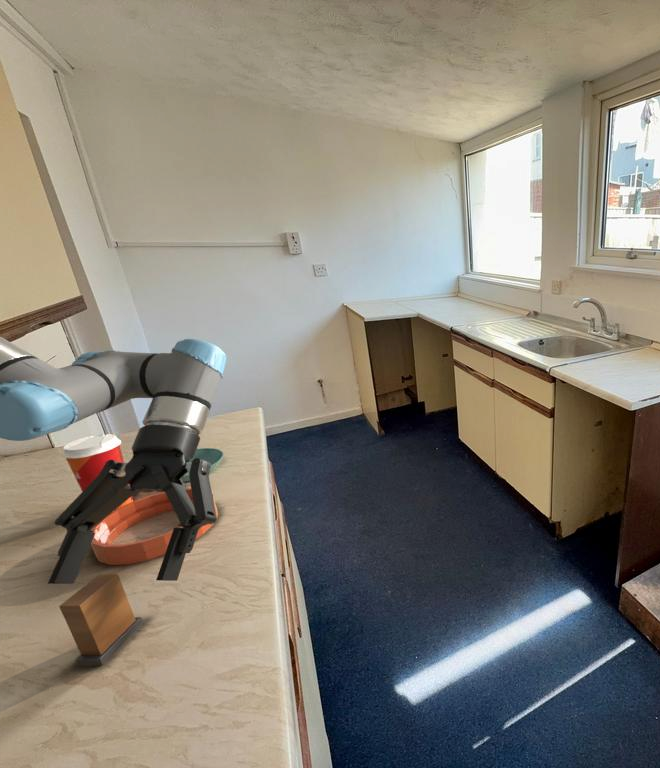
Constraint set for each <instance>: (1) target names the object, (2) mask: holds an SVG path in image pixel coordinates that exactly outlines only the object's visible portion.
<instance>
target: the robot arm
mask: <svg viewBox="0 0 660 768" xmlns="http://www.w3.org/2000/svg"><path fill="white" fill-rule="evenodd" d="M226 364H227V354H226V353H225V352H224V351H223V350H222V349H221V348H220V347H219V346H217V345H216V344H214V343H211V342H208V341H205V340H201V339H196V338H184V339H182V340H178V341H177V342H176V343H175V345H174V346H173V347H172V348H171V352H160V353H156V352H134V351H132V352H131V351H120V350H105V351H88V352H85V353H82V354H81V355H79V356H78V358H77V359H76V360H74V361H72V363H71V364H70V365H67V366H63V367H60V368H57V367H55V366H53V365H51V364H50V363H47V362H46V361H44V360H42V359H40V358H38V357H37V356H35V355H33V354H32V353H30V352H28V351H27V350H24V349H22V348H21V347H19V346H18V345H16V344H14V343H12V342H11V341H9V340H7V339H6V338H4V337H2V336H0V439H2V440H6V441H12V442H13V441H14V442H23V441H30V440H35V439H37V438H41V437H43V436H46V435H49V434H53V433H56V432H60V431H62V430H65V429H68V427H70V426H71V425H74V424H75V423H78V422H80V421H82V420H84V419H87V418H88V417H91V416H93V415H95V414H98V413H101V412H104V411H107V410H109V409H111V408H113V407H116V406H118V405H121V404H123V403H125V402H128V401H130V400H134V399H151V402H150V404H149V406H148V408H147V411H146V413H145V415H144V417H143V419H142V421H141V424H142V425H143V426H142V427H140V428H139V429H138V431H137V434H136V436H135V438H134V440H133V443H132V446H131V451H132V457H131V459H130V460H129V461H128V462H124V463H121V462H118V461H114V460H108V461H107V462H106V463H105V465H104V467H103V469H102V470H101V472H100V474H99V475H98V476H97V477H96V478H95V479H94V480H93V481H92V483H91V484H90V485H89V486H88V487H87V488H86V489H85V490H84V491H83V492H82V491H81V493H80V494H79V495H78V496H77V497H76V498H75V499H74V500H73V501H72V502H71V503H70V504H69V505H68V506H67V508H66V509H64V511H62V512H61V514H60V515H59V516H58V517H56V519H55V520H54V525H55V526H57V527H62V528H64V529H66V534H65V535H64V538H63V540H62V543H61V545H60V547H59V549H58V551H57V556H58V557H59V558H58V560H57V562H56V564H55V566H54V569H53V571H52V574H51V575H50V577H49V580H48V582H47V584H48V585H49V584H50V585H55V584H56V585H74V584H75V582H76V580H77V577H78V575H79V572H80V571H81V568H82V565H83V563H84V561H85V559H86V556H87V554H88V552H89V549H90V546H91V542H92V540H93V538H94V535H95V532H94V531H93V529H92V528H93V527H94V526H96V525H97V524H98V523H99V522H100V521H102V520H103V519H104V518H105V517H107V516H108V515H109V514H110V513H112V512H113V511H114V510H115V509H117V508H118V507H119V506H120V505H121V504H123V503H124V502H125V501H126V500H128V499H129V498H130V497H135V496H137V495H139V494H140V493H145V494H146V493H147V494H148V493H154V492H158V493H161V492H165V493H166V495H167V497H168V499H169V501H170V503H171V505H172V507H173V509H174V510H173V511H174V513H175V515H176V517H177V519H178V521H179V523H178V524H177V526H179V527H180V526H181V527H183V528H178V527H173V529H172V530H173V532H172V535H171V538H170V541H169V544H168V547H167V550H166V553H165V555H163V558H162V562H161V565H160V568H159V570H158V574H157V576H156V579H155V581H169V582H172V581H178V579H179V576H180V573H181V569H182V566H183V564H184V560H185V557H186V554H190V553H191V552H192V550H193V548H194V545H195V542H196V540H197V538H196V536H197V533H198V530H199V529H200V528H201V527H202V526H204V525H207V524H213V523H214V524H215V523H216V522H217V519H218V517H216V512H215V507H214V501H213V496H214V495H213V496H212V494H213V492H212V487H211V482H210V473H211V471H210V467H211V464H210V463H209V462H207V461H204V460H202V459H199V458H195V459H194V460H193V461H191V462H190V459H192V458H193V457H194V456H195V453H196V450H197V449H198V447H199V444H200V441H201V437H200V435H201V434H202V433H203V431H204V428H205V426H206V423H207V420H208V417H209V415H210V411H211V408H212V404H213V402H214V399H215V396H216V393H217V391H218V388H219V386H220V383H221V381H222V379H223V378H224V371H225V368H226ZM187 472H188V473H189V478H190V481H189V484H190V488H191V490H192V496H193V502H194V505H193V503H192V502H191V500H190V498H189V496H188V494H187V492H186V488H187V486H186V484H185V482H183V481H182V479H181V478H182V477H183V476H184V475H185V474H186V473H187ZM128 484H130V486H128ZM214 524H213V525H214Z"/></svg>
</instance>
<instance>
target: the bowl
mask: <svg viewBox="0 0 660 768" xmlns="http://www.w3.org/2000/svg"><path fill="white" fill-rule="evenodd" d="M186 492H187V494H188V496H189V498H190V500H191V502H192V503H193V505H194V502H193V496H192V490H191V487H186ZM212 496H213V501H214V507H215V512H216V517H217V518H218V516H219V514H218V513H219V512H218V508H217V503H216V499H215V496H214V494H213V493H212ZM170 511H174V509H173V507H172V505H171V503H170V501H169V499H168V497H167V495H166V493H165V492H158V493H154V494H150V495H148V496H144V497H142V498H139V499H136V500H133V502H131V503H129V504H127V505H125V506H123V507H121V508H119V509H117V510H115V511H113V512H112V513H110V514H109V515H108V516H107V517H105V518H104V519H103V520H102V521H100V522H99V523H98V524H97V525H96V526H94V527H93V528H92V529H93V531H94V532H95V535H94V538H93V540H92V542H91V545H90V546H91V548H92V550H93V553H94V555H95V557H96V559H97V560H98V562H99V563H103V564H106V565H110V566H113V565H114V566H117V565H118V566H119V565H120V566H121V565H131V564H136V563H137V564H138V563H141V562H147V561H150V560H153V559H156V558H159V557H162V556H165V553H166V550H167V547H168V544H169V541H170V538H171V535H172V532H173V529H172V530H169V531H167V532H164V533H163V534H159V535H156V536H153V537H150V538H146V539H144V540H143V539H142V540H139V541H133V542H127V543H119V544H117V543H115V544H113V542H114V541H115V540H116V538H118V536H119V535H121V534H122V533H123V532H125V531H126V530H128V529H129V528H130V527H132V526H134V525H136V524H138V523H140V522H142V521H144V520H146V519H149V518H151V517H154V516H156V515H159V514H163V513H166V512H170ZM214 524H215V523H213V524H207V525H204V526H202V527H201V528H200V529H199V530H198V533H197V536H196V539H199V538H200V537H202V536H203V535H204V534H205V533H207V532H208V531H209V530H210V528H211V527H213V526H214ZM177 528H183V527H181V526H179V527H177Z"/></svg>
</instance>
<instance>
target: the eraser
mask: <svg viewBox="0 0 660 768" xmlns="http://www.w3.org/2000/svg"><path fill="white" fill-rule="evenodd" d="M122 583H123V582H122V581H121V579H120V575H119V574H118V573H99V574H97V575H96V576H95V577H94V578H92V579H91V580H90V581H89V582H87V583H86V584H85V585H83V586H82V587H81V588H80V589H79V590H77V591H76V592H74V594H73V595H71V596H70V597H68V599H66V600H65V601H64V602H62V603H61V604H60V605H59V606H58V608H59V609H60V611H61V614H62V616H63V618H64V621H65V623H66V624H67V627H68V629H69V631H70V633H71V635H72V638H73V640H74V642H75V644H76V647H77V649H78V651H79V653H80V655H78V656H77V657H76V658H75V662H76V665H77V666H78V667H97V666H99V667H100V666H104V665H105V663H106V662H107V661H109V660H110V659H111V657H112V656H113V655H115V653H116V652H117V651H118V650H119V649H120V648H121V647H122V646H123V645H124V644H125V643H126V642H127V641H128V640H129V639H130V638H131V637H132V636H133V635H134V634H135V633H136V632H137V631H138V629H139V628H140V627H141V626H143V624H144V620H143V619H142V617H141V616H137V617H136V616H135V615H134V612H133V609H132V607H131V605H130V602H129V598H128V596H127V594H126V592H125V589H124V586H123V584H122Z"/></svg>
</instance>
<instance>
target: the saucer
mask: <svg viewBox="0 0 660 768" xmlns="http://www.w3.org/2000/svg"><path fill="white" fill-rule="evenodd" d="M223 457H224V452H223V450H221V449H219V448H215V447H201V448H197V450H196V453H195V456H194V457H193V458H192V459H190V462H191V461H193V460H194V459H195V458H199V459H202V460H204V461H207V462H209V463H210V464H211V467H210V472H212V471H213V470H214V469H216V468H217V466H218V465H219V464H220V463H221V461H222V459H223ZM181 479H182V481H183V483H185V482H190V478H189V473H188V472H187V473H186V474H185V475H184V476H183V477H182V478H181Z"/></svg>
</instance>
